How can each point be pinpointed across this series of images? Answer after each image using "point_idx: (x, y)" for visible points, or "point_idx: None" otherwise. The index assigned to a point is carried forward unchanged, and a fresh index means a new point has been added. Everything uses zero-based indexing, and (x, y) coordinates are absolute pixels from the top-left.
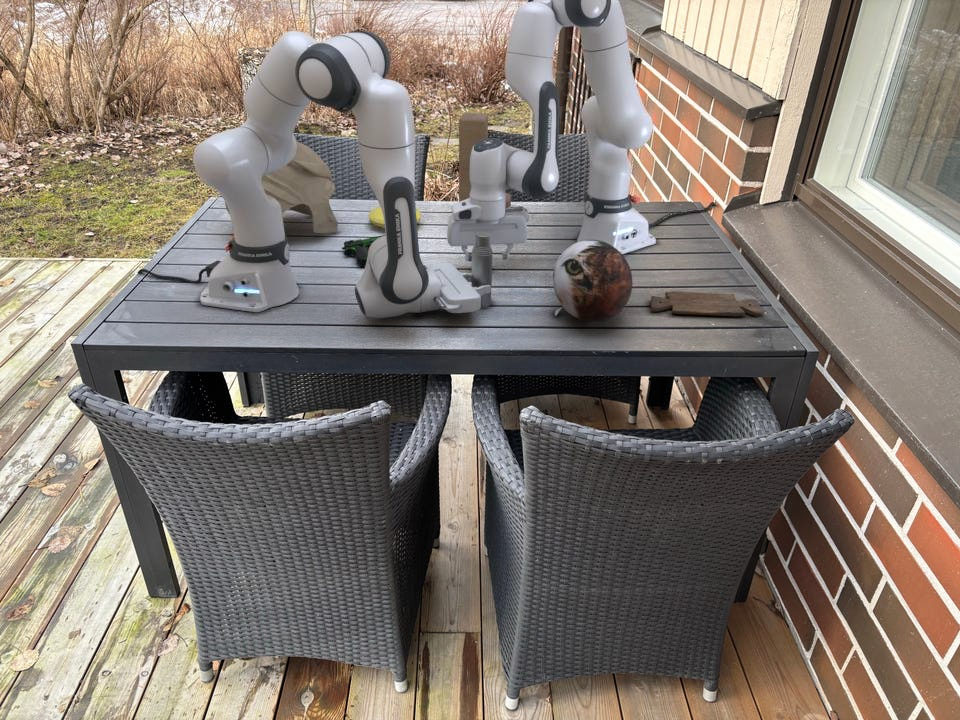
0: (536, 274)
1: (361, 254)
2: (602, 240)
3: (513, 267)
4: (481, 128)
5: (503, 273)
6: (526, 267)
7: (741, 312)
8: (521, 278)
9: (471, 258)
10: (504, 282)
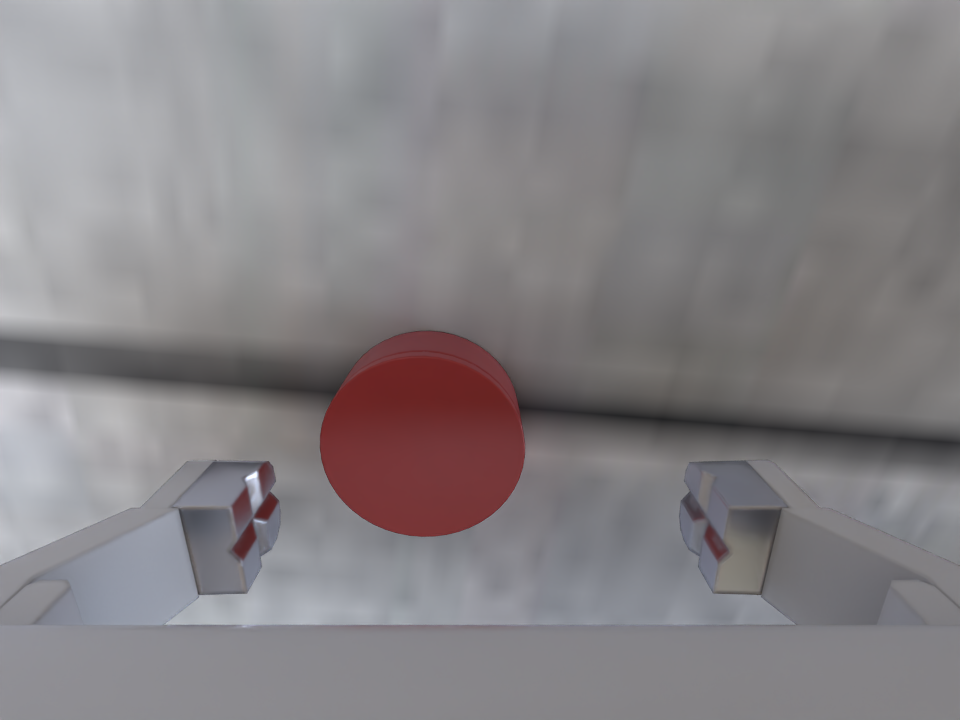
0: (922, 542)
1: None
2: None
3: (772, 376)
4: None
5: (628, 501)
6: (906, 387)
7: None
8: (756, 602)
9: (262, 539)
10: None
